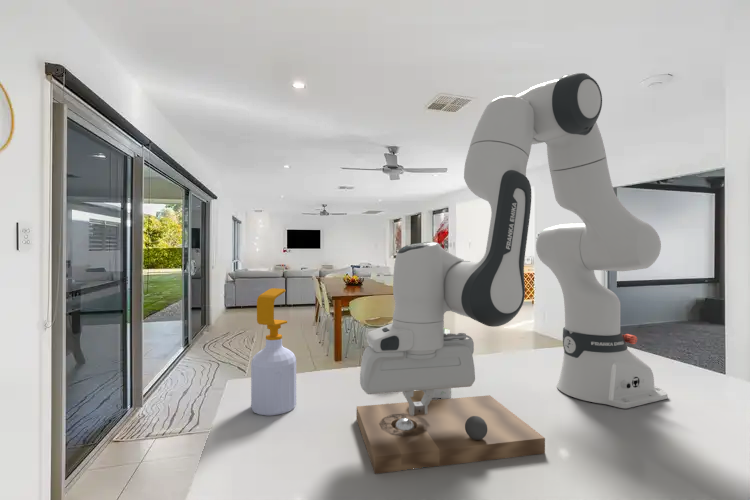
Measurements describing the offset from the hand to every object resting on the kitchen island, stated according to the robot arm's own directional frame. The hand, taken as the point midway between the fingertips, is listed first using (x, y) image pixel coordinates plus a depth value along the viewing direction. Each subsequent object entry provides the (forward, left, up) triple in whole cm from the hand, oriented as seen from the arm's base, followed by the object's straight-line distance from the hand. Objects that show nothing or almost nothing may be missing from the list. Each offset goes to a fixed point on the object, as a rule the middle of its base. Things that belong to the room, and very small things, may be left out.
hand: (418, 413), depth 66 cm
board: (-5, 0, -4) cm, 6 cm away
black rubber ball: (-8, +7, 0) cm, 10 cm away
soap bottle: (+25, -18, -4) cm, 32 cm away
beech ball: (-3, -7, 0) cm, 7 cm away
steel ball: (+2, 0, -2) cm, 3 cm away
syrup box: (-11, -18, -4) cm, 21 cm away
